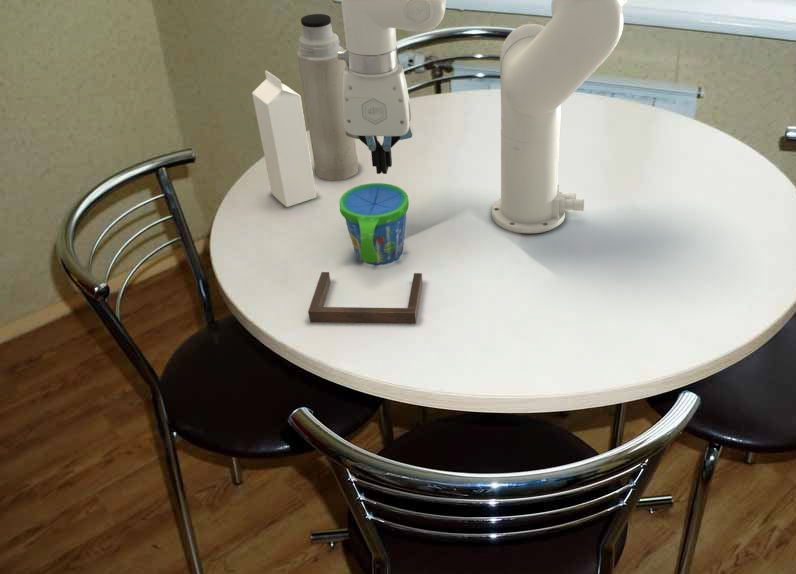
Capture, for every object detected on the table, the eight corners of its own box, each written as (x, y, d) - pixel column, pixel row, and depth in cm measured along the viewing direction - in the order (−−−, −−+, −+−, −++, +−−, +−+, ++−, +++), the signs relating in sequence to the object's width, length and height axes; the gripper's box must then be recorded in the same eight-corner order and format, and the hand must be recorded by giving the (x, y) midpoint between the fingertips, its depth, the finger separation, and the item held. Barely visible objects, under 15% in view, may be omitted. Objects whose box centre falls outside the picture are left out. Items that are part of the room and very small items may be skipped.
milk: (286, 208, 147) (262, 85, 132) (271, 194, 150) (246, 73, 136) (317, 197, 149) (297, 76, 135) (302, 184, 153) (281, 65, 139)
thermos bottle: (335, 157, 162) (314, 6, 144) (367, 167, 158) (349, 14, 140) (306, 173, 156) (281, 19, 138) (339, 184, 153) (317, 28, 135)
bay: (422, 283, 129) (421, 273, 127) (415, 324, 121) (414, 312, 120) (323, 282, 129) (321, 271, 128) (309, 322, 121) (307, 311, 120)
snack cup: (399, 285, 128) (393, 227, 122) (333, 279, 130) (324, 221, 123) (423, 232, 140) (419, 177, 134) (362, 227, 141) (355, 172, 135)
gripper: (318, 67, 123) (333, 180, 135) (419, 69, 123) (425, 182, 135) (328, 49, 129) (341, 159, 141) (424, 51, 129) (430, 160, 141)
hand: (382, 169), depth 138 cm, fingers closed
